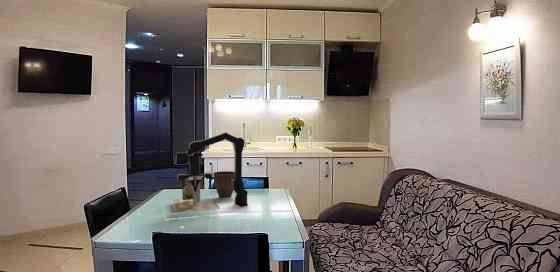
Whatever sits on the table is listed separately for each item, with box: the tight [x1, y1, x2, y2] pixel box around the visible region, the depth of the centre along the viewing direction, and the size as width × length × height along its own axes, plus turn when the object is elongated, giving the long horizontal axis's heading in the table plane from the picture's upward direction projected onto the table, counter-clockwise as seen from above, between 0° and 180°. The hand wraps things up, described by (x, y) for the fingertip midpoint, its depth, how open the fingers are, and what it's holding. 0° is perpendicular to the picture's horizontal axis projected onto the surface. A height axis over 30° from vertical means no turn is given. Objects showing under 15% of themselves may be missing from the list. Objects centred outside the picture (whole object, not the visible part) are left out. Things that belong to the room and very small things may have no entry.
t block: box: [173, 198, 194, 210], centre depth 218 cm, size 10×10×4 cm
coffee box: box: [181, 178, 201, 203], centre depth 237 cm, size 9×6×16 cm
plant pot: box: [212, 170, 235, 199], centre depth 250 cm, size 15×15×16 cm
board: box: [169, 201, 221, 214], centre depth 220 cm, size 26×20×1 cm
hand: (195, 191), depth 220 cm, fingers closed
